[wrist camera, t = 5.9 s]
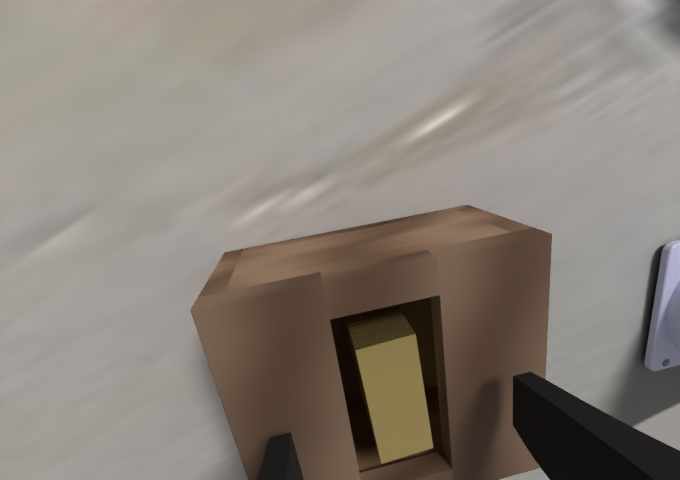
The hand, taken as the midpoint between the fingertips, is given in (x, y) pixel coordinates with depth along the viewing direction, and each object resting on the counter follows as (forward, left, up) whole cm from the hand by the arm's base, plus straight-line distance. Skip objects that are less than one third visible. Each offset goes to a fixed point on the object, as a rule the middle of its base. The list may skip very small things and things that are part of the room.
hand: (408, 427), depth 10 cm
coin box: (0, 0, -6) cm, 6 cm away
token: (0, 0, -6) cm, 6 cm away
